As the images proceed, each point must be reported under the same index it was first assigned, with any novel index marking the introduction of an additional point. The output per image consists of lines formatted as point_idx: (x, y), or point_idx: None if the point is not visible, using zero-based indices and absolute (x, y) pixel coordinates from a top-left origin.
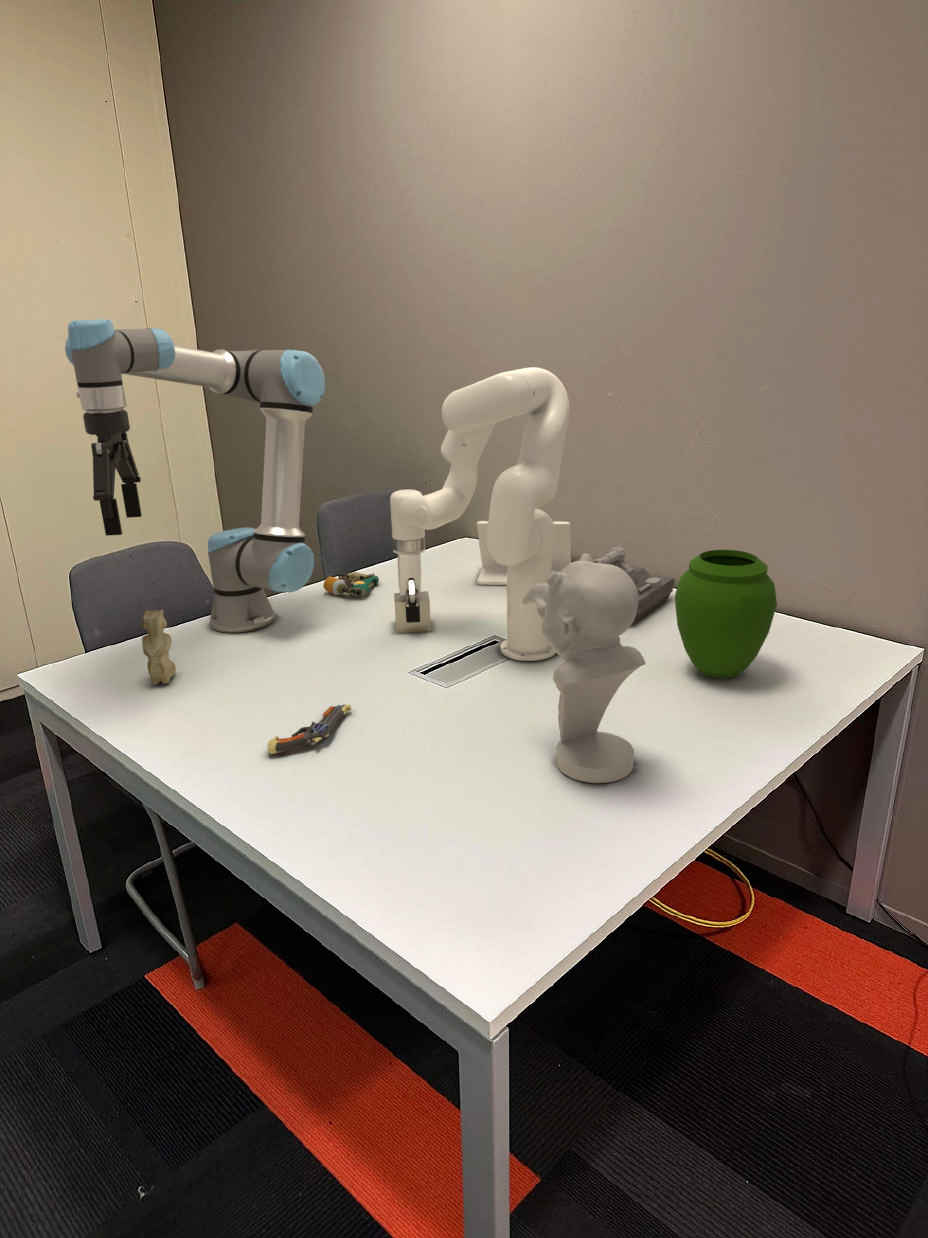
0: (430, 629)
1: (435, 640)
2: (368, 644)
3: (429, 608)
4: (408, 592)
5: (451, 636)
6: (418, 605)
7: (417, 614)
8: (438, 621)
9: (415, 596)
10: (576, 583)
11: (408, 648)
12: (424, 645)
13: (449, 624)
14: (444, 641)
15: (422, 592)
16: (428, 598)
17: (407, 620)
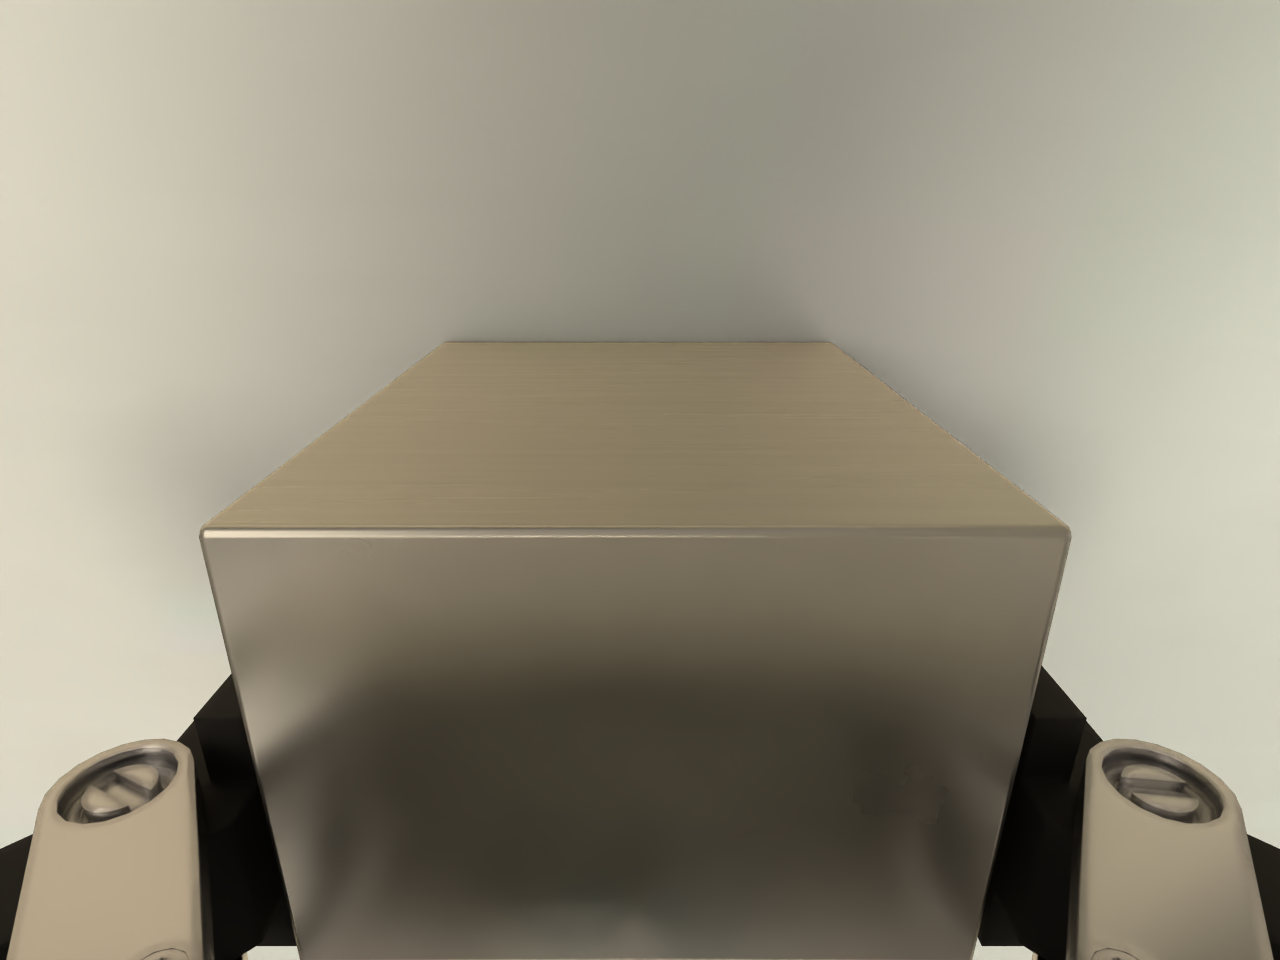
0: (840, 351)
1: (1170, 298)
2: None
3: (975, 456)
4: (311, 954)
5: (1113, 42)
6: (1045, 733)
7: None
8: (455, 206)
9: (625, 835)
10: None
11: (1276, 617)
12: (1274, 445)
13: (602, 32)
14: (1261, 171)
15: (308, 674)
16: (873, 546)
17: None
